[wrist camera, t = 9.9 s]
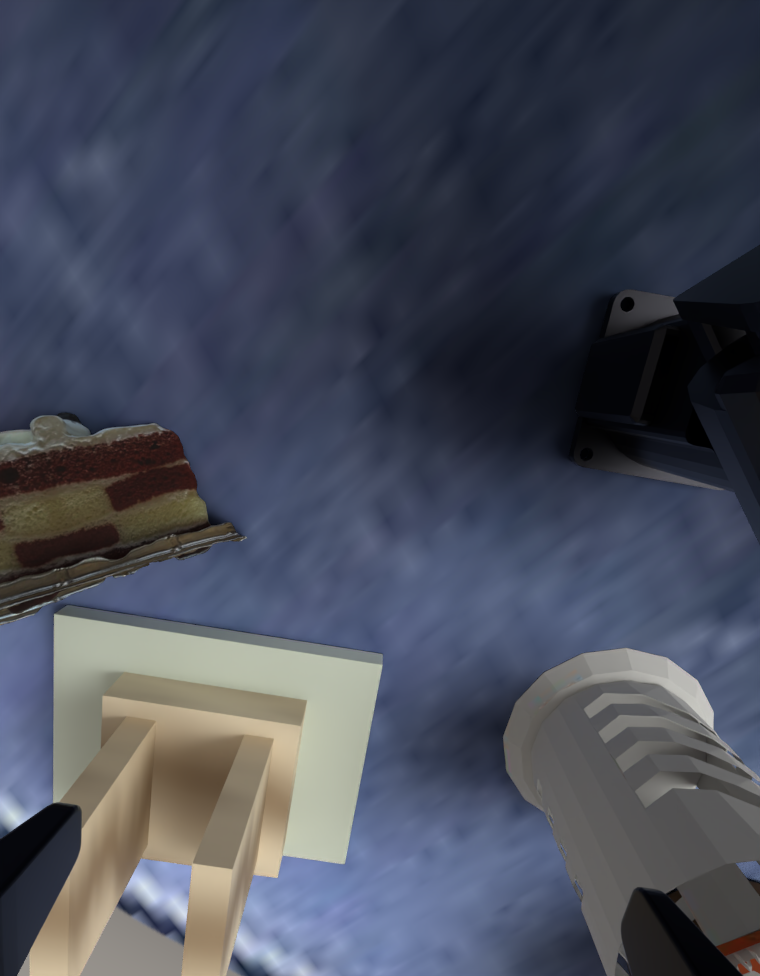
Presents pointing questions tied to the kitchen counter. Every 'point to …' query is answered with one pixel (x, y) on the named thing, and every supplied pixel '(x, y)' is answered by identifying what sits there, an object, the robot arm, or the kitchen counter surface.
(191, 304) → the kitchen counter surface
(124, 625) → the sage board
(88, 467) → the chocolate cake
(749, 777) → the french press
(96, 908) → the wooden slotted holder
